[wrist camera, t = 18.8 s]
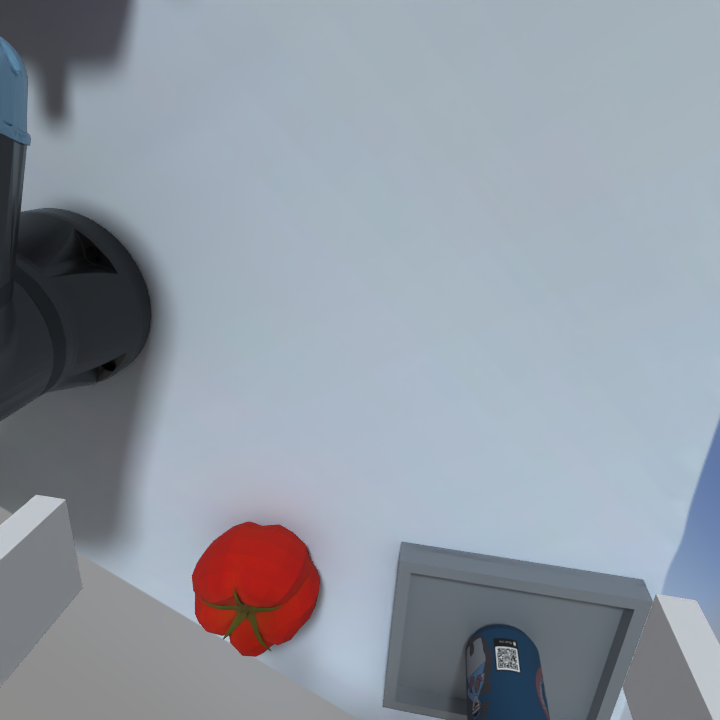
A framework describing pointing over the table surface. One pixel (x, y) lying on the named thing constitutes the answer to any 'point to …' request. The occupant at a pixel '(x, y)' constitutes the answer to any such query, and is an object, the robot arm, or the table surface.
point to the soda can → (504, 675)
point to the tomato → (255, 586)
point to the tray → (516, 607)
